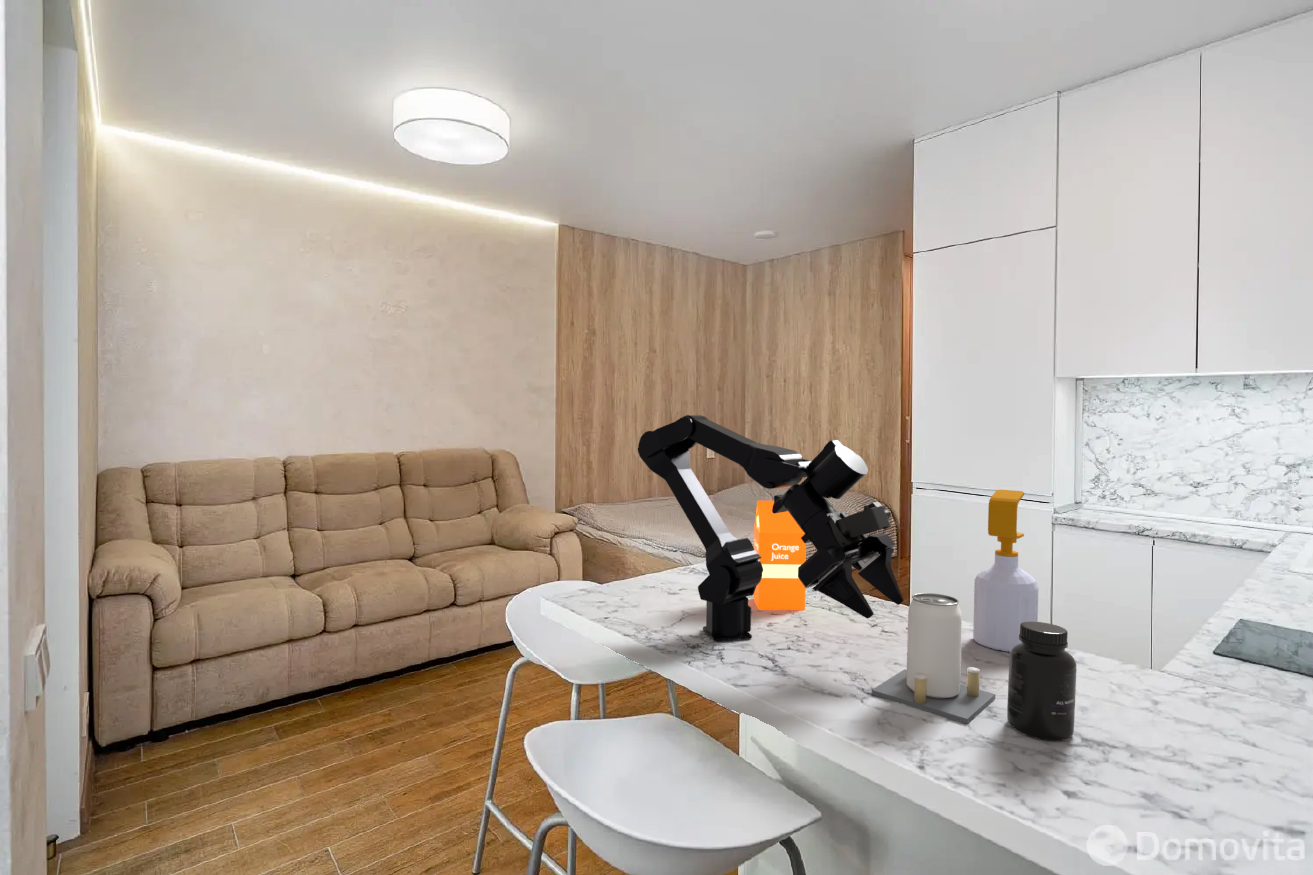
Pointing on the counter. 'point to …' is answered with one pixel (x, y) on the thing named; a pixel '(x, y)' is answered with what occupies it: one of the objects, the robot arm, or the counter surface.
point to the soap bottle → (1003, 581)
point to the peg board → (954, 708)
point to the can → (935, 644)
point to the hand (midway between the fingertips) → (886, 609)
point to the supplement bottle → (1042, 683)
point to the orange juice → (778, 559)
